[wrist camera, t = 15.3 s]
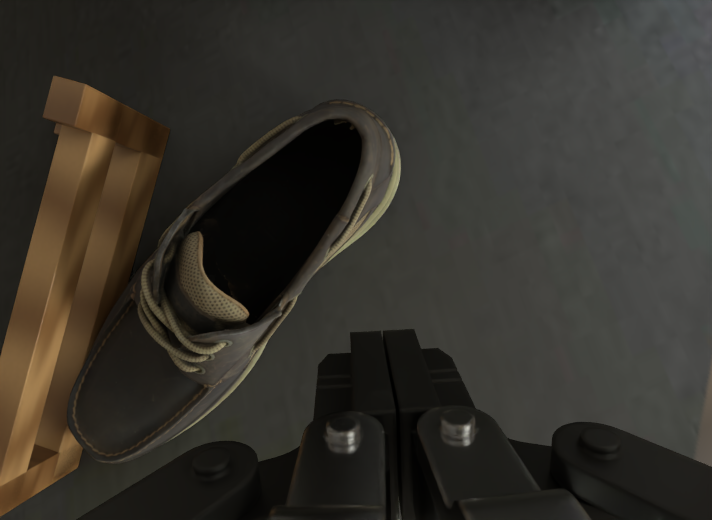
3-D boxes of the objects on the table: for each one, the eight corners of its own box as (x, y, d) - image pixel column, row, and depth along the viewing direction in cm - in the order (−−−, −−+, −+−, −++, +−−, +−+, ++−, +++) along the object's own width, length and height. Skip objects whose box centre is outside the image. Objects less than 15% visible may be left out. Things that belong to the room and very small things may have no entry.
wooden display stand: (74, 98, 39) (-42, 43, 29) (172, 125, 38) (87, 78, 28) (-17, 438, 40) (-160, 498, 30) (77, 471, 39) (-38, 545, 29)
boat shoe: (66, 378, 39) (-64, 424, 28) (307, 69, 37) (266, -7, 26) (173, 474, 38) (81, 559, 27) (426, 163, 36) (433, 124, 25)
